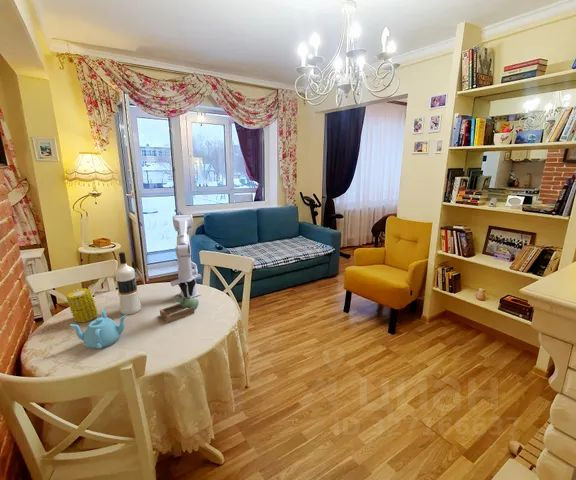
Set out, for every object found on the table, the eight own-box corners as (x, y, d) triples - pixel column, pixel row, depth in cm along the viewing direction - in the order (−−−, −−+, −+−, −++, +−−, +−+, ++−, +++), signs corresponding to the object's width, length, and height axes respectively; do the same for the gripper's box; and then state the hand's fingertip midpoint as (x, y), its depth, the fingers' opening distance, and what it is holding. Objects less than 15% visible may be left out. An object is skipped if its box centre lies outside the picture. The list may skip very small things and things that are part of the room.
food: (102, 318, 144) (80, 329, 135) (87, 308, 148) (65, 318, 140) (100, 291, 138) (76, 301, 129) (84, 282, 142) (60, 291, 134)
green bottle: (190, 307, 150) (171, 302, 142) (194, 298, 151) (176, 292, 143) (195, 310, 146) (176, 305, 138) (199, 301, 147) (181, 295, 139)
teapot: (97, 356, 113) (92, 331, 110) (72, 346, 119) (67, 323, 116) (131, 336, 126) (127, 314, 123) (107, 328, 132) (103, 307, 129)
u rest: (160, 315, 142) (159, 310, 141) (185, 306, 150) (185, 301, 150) (168, 323, 135) (167, 317, 135) (194, 313, 144) (193, 307, 143)
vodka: (118, 310, 148) (108, 252, 140) (138, 304, 154) (130, 248, 146) (122, 317, 141) (112, 256, 133) (143, 311, 147) (134, 252, 139)
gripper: (173, 275, 134) (177, 303, 137) (203, 267, 144) (205, 293, 147) (167, 271, 139) (170, 298, 142) (196, 264, 148) (198, 289, 152)
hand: (188, 296), depth 145 cm, fingers closed
